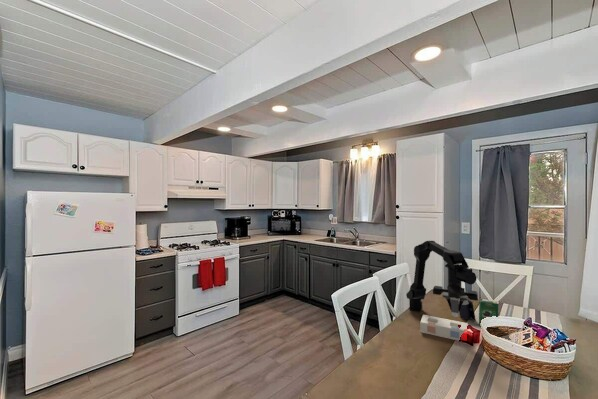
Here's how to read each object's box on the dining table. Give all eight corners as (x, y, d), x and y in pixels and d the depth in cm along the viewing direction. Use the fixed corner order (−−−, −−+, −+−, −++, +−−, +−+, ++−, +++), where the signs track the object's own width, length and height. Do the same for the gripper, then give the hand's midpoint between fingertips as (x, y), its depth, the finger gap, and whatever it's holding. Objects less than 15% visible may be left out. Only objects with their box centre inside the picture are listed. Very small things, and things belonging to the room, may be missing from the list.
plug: (451, 316, 134) (451, 299, 134) (451, 313, 137) (451, 297, 137) (458, 317, 133) (458, 300, 133) (458, 315, 135) (458, 298, 135)
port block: (420, 332, 138) (420, 321, 138) (423, 324, 147) (423, 314, 147) (467, 342, 128) (467, 331, 128) (467, 333, 137) (467, 322, 137)
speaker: (475, 316, 154) (472, 298, 154) (475, 321, 149) (473, 302, 149) (459, 315, 158) (457, 297, 158) (459, 320, 153) (457, 301, 153)
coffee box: (496, 326, 143) (496, 301, 143) (498, 329, 140) (498, 303, 140) (478, 324, 146) (478, 299, 145) (480, 327, 143) (480, 301, 143)
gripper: (431, 279, 133) (431, 312, 133) (477, 285, 123) (478, 321, 123) (434, 274, 142) (434, 304, 143) (477, 279, 133) (477, 312, 133)
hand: (455, 310), depth 135 cm, fingers closed on plug, 3 cm apart
